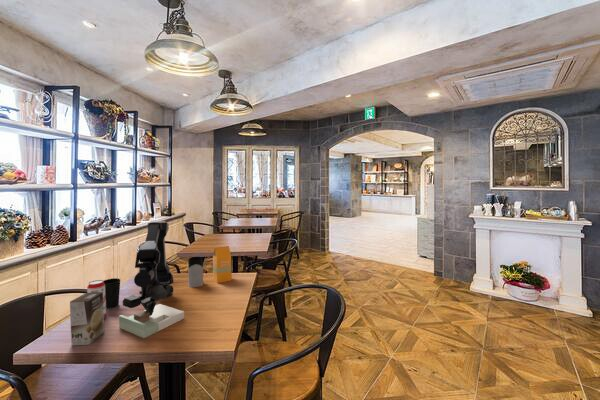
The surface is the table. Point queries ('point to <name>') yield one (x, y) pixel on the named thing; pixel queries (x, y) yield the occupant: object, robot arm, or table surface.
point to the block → (142, 316)
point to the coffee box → (86, 318)
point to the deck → (151, 321)
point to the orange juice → (222, 264)
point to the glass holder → (195, 272)
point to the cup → (112, 292)
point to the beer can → (98, 287)
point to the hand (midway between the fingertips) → (150, 315)
